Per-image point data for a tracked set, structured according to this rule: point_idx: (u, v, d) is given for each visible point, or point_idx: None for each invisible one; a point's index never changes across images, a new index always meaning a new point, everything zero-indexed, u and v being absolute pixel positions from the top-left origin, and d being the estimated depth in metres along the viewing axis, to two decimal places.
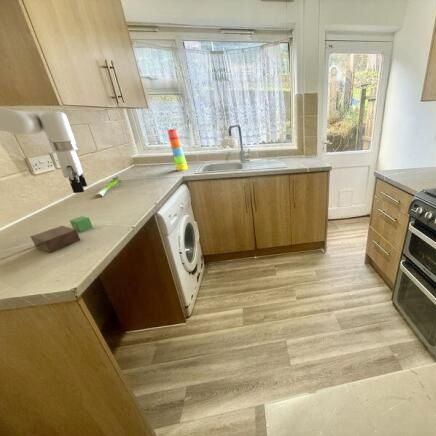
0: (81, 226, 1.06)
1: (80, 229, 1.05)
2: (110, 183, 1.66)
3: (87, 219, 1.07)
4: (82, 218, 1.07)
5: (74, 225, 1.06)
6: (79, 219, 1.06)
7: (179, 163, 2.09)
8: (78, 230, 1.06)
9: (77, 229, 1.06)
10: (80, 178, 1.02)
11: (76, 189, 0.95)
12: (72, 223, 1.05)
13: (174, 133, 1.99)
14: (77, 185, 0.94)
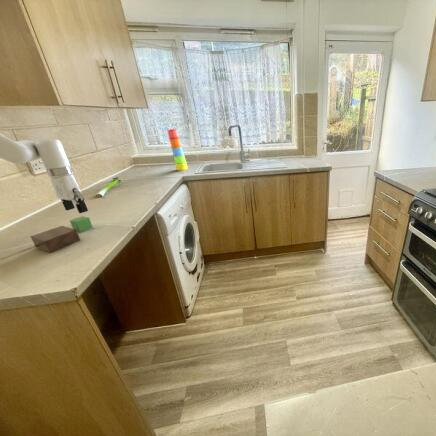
0: (81, 226, 1.06)
1: (80, 229, 1.05)
2: (110, 183, 1.66)
3: (87, 219, 1.07)
4: (82, 218, 1.07)
5: (74, 225, 1.06)
6: (79, 219, 1.06)
7: (179, 163, 2.09)
8: (78, 230, 1.06)
9: (77, 229, 1.06)
10: (68, 201, 1.06)
11: (82, 209, 1.02)
12: (72, 223, 1.05)
13: (174, 133, 1.99)
14: (83, 205, 1.02)
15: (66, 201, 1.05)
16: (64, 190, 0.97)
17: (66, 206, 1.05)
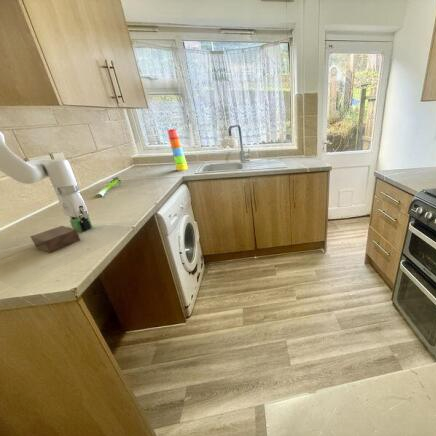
0: None
1: (80, 229, 1.05)
2: (110, 183, 1.66)
3: None
4: None
5: (74, 225, 1.06)
6: None
7: (179, 163, 2.09)
8: (78, 230, 1.06)
9: (77, 229, 1.06)
10: None
11: (86, 227, 1.06)
12: (72, 223, 1.05)
13: (174, 133, 1.99)
14: (87, 223, 1.06)
15: None
16: (71, 208, 1.00)
17: None
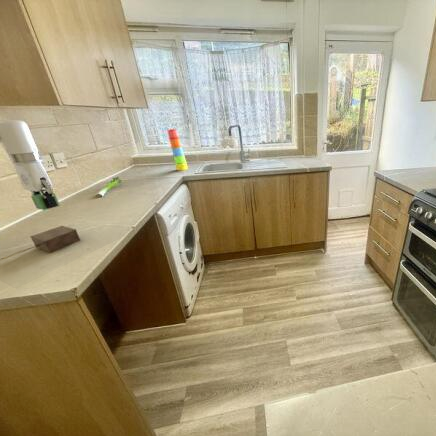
0: None
1: (43, 206, 0.90)
2: (110, 183, 1.66)
3: None
4: None
5: (36, 202, 0.90)
6: None
7: (179, 163, 2.09)
8: (41, 207, 0.90)
9: (40, 206, 0.90)
10: None
11: (51, 204, 0.90)
12: (34, 199, 0.90)
13: (174, 133, 1.99)
14: (51, 199, 0.90)
15: None
16: (30, 179, 0.84)
17: None
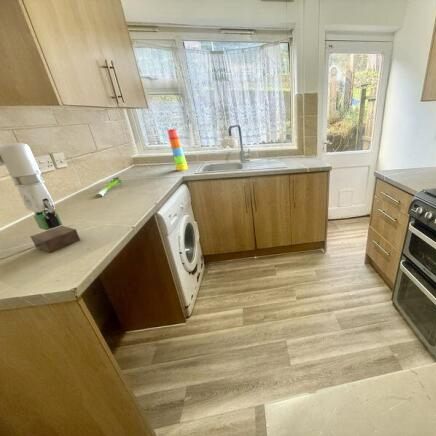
0: None
1: (46, 226, 0.90)
2: (110, 183, 1.66)
3: None
4: None
5: (39, 222, 0.90)
6: None
7: (179, 163, 2.09)
8: (44, 227, 0.90)
9: (43, 226, 0.90)
10: None
11: (53, 224, 0.91)
12: (37, 219, 0.90)
13: (174, 133, 1.99)
14: (54, 219, 0.91)
15: None
16: (33, 201, 0.85)
17: None
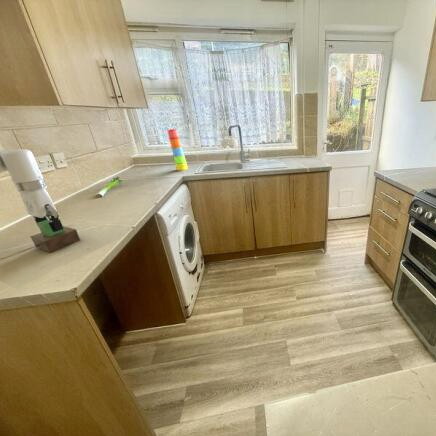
0: (50, 229, 0.91)
1: (49, 233, 0.91)
2: (110, 183, 1.66)
3: None
4: None
5: (42, 228, 0.91)
6: (48, 221, 0.92)
7: (179, 163, 2.09)
8: (47, 234, 0.91)
9: (46, 233, 0.91)
10: (42, 217, 0.94)
11: (57, 227, 0.91)
12: (40, 226, 0.91)
13: (174, 133, 1.99)
14: (57, 223, 0.91)
15: (39, 217, 0.93)
16: (35, 207, 0.86)
17: None
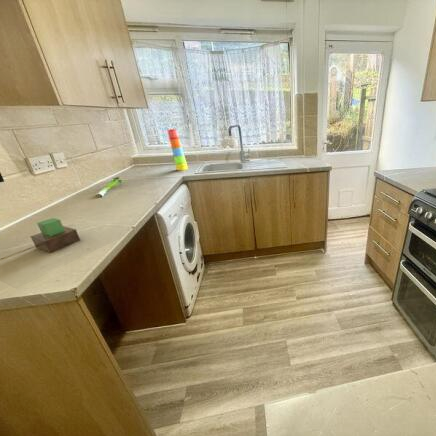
0: (50, 229, 0.91)
1: (49, 233, 0.91)
2: (111, 183, 1.66)
3: (58, 221, 0.93)
4: (52, 220, 0.93)
5: (42, 228, 0.91)
6: (48, 221, 0.92)
7: (179, 163, 2.09)
8: (47, 234, 0.91)
9: (46, 233, 0.91)
10: None
11: None
12: (40, 226, 0.91)
13: (174, 133, 1.99)
14: None
15: None
16: None
17: None
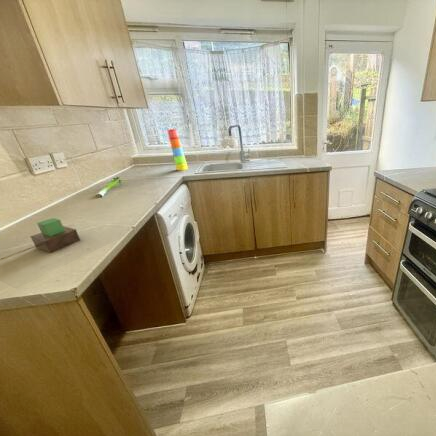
0: (50, 229, 0.91)
1: (49, 233, 0.91)
2: (111, 183, 1.66)
3: (58, 221, 0.93)
4: (52, 220, 0.93)
5: (42, 228, 0.91)
6: (48, 221, 0.92)
7: (179, 163, 2.09)
8: (47, 234, 0.91)
9: (46, 233, 0.91)
10: None
11: None
12: (40, 226, 0.91)
13: (174, 133, 1.99)
14: None
15: None
16: None
17: None
